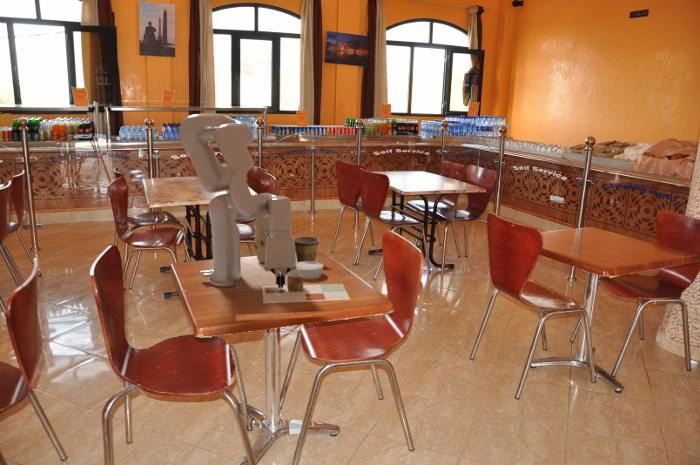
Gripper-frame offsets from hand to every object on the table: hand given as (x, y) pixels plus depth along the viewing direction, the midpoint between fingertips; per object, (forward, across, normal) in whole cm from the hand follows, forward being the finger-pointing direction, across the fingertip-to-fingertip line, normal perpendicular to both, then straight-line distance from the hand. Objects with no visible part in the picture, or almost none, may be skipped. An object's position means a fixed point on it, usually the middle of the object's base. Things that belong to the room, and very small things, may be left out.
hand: (280, 286), depth 191 cm
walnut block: (+1, +5, 0) cm, 5 cm away
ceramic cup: (+3, +12, +35) cm, 37 cm away
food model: (+3, -4, +37) cm, 37 cm away
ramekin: (+3, +11, +15) cm, 19 cm away
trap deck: (+3, +8, -4) cm, 9 cm away
